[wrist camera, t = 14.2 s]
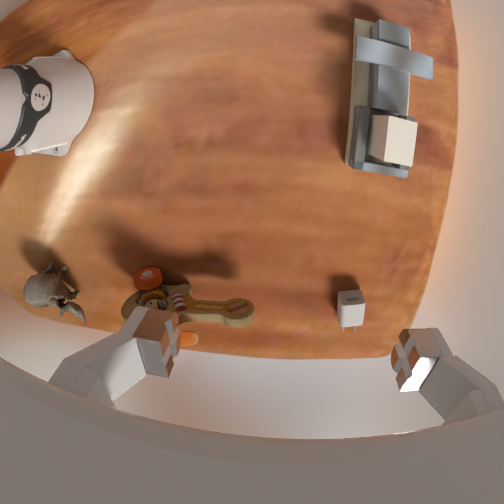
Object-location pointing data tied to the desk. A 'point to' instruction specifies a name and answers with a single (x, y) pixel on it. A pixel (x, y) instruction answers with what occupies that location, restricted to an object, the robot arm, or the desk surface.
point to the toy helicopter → (184, 304)
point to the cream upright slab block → (391, 139)
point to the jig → (380, 86)
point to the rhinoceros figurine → (51, 292)
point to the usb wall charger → (350, 308)
